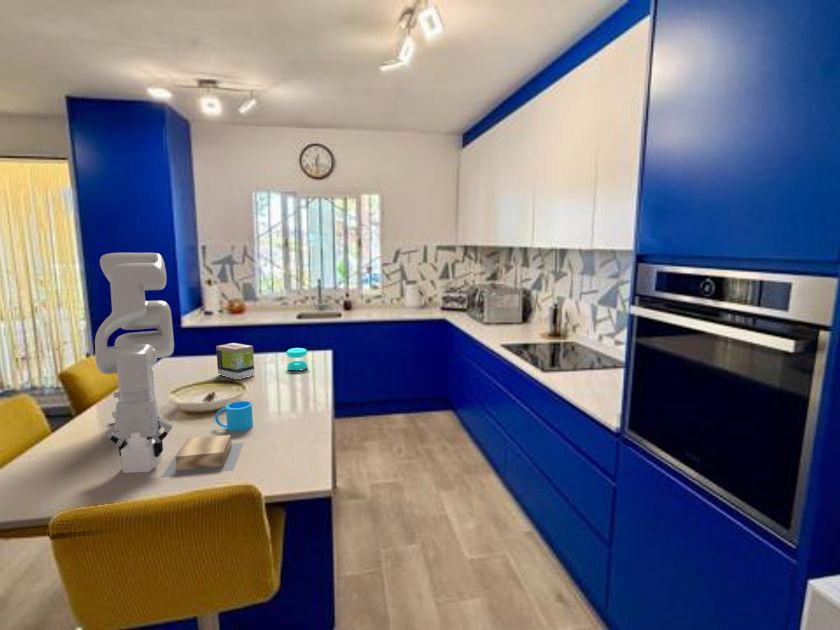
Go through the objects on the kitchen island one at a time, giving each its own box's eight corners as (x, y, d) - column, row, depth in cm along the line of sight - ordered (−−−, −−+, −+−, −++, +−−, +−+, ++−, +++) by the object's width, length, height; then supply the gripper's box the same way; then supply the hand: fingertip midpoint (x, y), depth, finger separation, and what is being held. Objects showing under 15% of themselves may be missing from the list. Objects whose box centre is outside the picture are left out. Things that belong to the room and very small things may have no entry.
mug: (255, 422, 159) (254, 400, 157) (250, 432, 151) (249, 408, 149) (219, 424, 157) (217, 402, 156) (212, 434, 149) (210, 410, 148)
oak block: (176, 470, 123) (175, 456, 123) (188, 451, 135) (187, 438, 134) (223, 465, 126) (223, 452, 125) (231, 447, 138) (230, 434, 137)
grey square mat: (161, 479, 120) (161, 477, 120) (180, 449, 137) (180, 447, 137) (233, 471, 124) (233, 469, 124) (243, 444, 141) (243, 442, 141)
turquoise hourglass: (289, 347, 232) (309, 347, 231) (290, 366, 233) (309, 366, 233) (283, 351, 222) (303, 352, 222) (284, 371, 223) (304, 371, 223)
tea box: (255, 375, 216) (253, 345, 214) (237, 380, 208) (235, 349, 206) (235, 371, 224) (233, 341, 222) (217, 375, 216) (215, 345, 214)
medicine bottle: (136, 462, 129) (132, 422, 128) (162, 461, 130) (159, 421, 128) (122, 474, 122) (118, 432, 121) (150, 473, 123) (146, 431, 121)
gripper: (93, 402, 117) (100, 466, 120) (166, 397, 121) (172, 459, 124) (106, 393, 125) (112, 453, 127) (175, 389, 129) (180, 447, 131)
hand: (141, 456), depth 126 cm, fingers closed on medicine bottle, 7 cm apart
